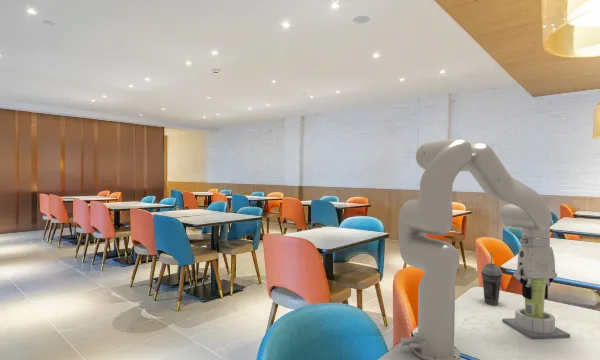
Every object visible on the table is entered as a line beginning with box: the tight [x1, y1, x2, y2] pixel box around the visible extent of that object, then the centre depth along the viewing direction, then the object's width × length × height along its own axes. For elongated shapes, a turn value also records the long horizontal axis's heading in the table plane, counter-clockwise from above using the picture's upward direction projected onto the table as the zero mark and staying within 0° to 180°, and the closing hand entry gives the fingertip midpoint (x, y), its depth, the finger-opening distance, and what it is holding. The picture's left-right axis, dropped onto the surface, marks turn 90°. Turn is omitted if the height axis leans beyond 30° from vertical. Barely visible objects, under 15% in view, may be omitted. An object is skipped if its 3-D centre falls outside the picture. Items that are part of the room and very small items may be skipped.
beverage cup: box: [481, 251, 503, 306], centre depth 136 cm, size 7×7×20 cm
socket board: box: [501, 307, 571, 340], centre depth 113 cm, size 13×13×5 cm
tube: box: [524, 278, 546, 319], centre depth 113 cm, size 6×5×20 cm
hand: (534, 297), depth 113 cm, fingers closed on tube, 4 cm apart
